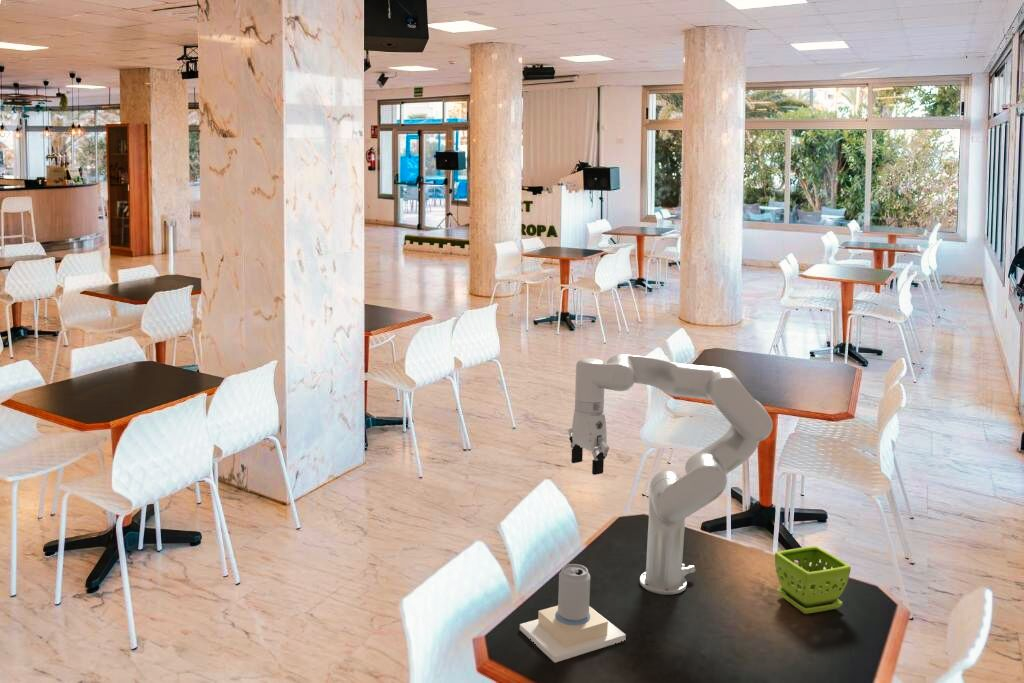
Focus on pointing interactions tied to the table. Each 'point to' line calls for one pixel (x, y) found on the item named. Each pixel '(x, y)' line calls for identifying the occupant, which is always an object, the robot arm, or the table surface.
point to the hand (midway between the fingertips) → (587, 467)
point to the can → (574, 592)
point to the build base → (572, 650)
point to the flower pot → (811, 578)
